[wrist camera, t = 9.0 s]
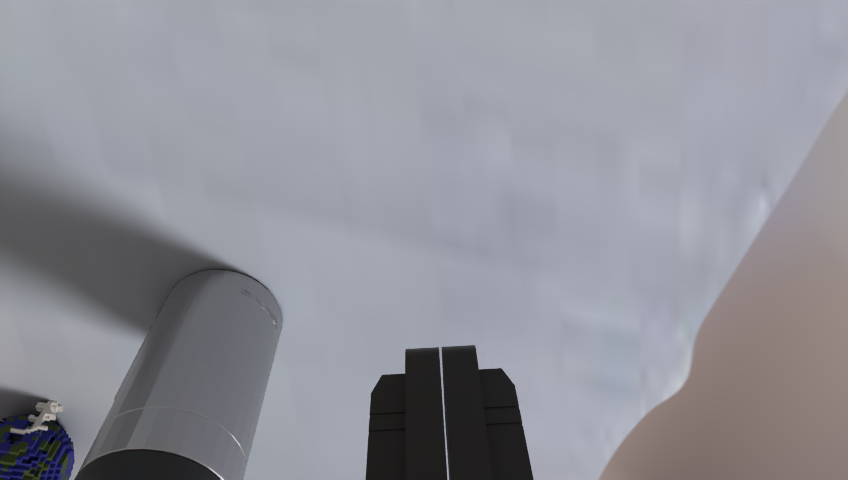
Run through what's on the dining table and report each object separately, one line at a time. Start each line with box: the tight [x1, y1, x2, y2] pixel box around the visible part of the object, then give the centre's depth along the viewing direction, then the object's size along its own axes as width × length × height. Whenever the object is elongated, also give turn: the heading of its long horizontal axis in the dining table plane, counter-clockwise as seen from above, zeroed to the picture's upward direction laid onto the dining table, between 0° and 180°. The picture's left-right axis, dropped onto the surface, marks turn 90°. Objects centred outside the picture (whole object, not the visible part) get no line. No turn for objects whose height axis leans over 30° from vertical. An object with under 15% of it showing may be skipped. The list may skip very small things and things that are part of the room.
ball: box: [0, 400, 74, 480], centre depth 56 cm, size 8×8×8 cm
